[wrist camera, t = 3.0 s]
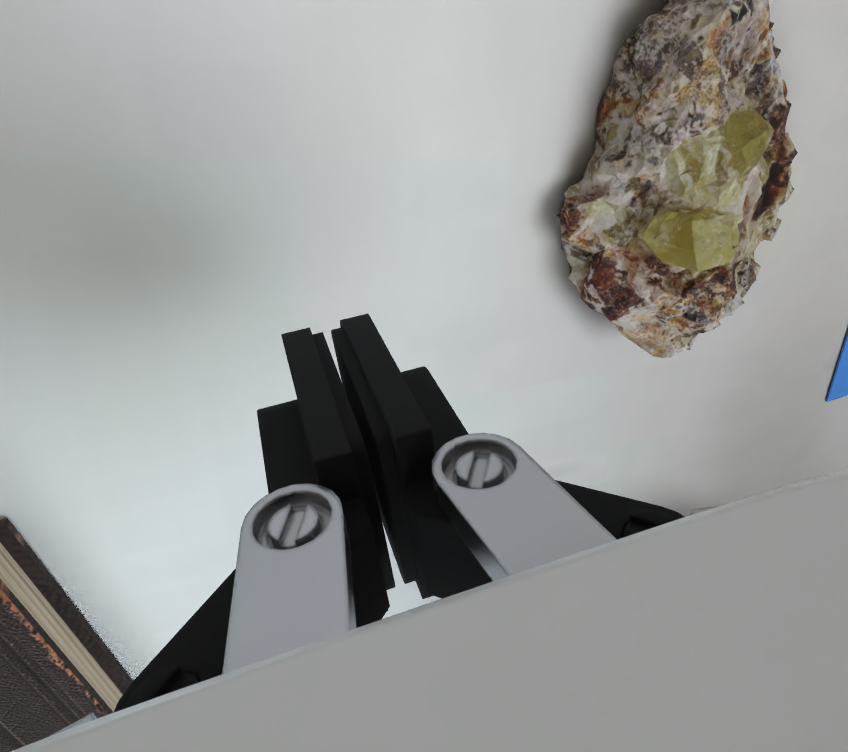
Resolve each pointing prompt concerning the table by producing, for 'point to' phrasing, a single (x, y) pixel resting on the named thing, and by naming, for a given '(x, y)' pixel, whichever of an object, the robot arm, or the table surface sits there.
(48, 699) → the hardcover book
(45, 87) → the table surface
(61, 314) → the table surface
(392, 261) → the table surface
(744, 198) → the mineral rock
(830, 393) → the tape marks
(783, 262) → the table surface
